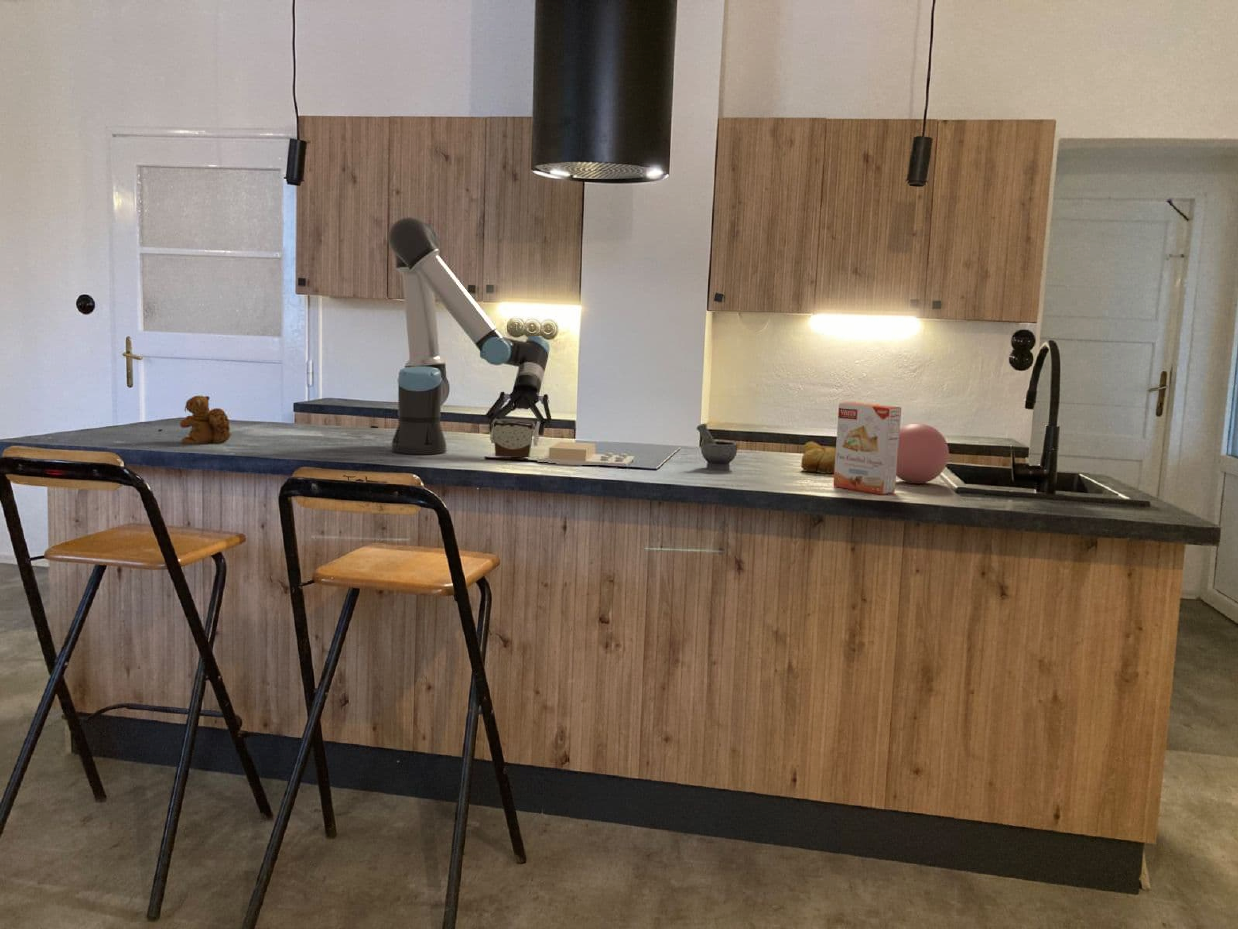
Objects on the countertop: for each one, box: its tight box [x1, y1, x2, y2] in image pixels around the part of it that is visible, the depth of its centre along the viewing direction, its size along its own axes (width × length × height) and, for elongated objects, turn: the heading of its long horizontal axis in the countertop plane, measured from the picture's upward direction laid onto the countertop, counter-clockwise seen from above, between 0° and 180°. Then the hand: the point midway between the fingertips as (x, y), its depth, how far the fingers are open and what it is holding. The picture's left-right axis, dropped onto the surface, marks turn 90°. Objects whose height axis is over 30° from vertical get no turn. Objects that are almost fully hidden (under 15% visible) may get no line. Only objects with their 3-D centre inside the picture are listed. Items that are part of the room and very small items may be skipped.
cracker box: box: [832, 401, 902, 496], centre depth 245 cm, size 14×6×21 cm, turn 45°
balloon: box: [896, 423, 950, 485], centre depth 263 cm, size 15×20×15 cm
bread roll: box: [800, 440, 836, 474], centre depth 275 cm, size 13×10×8 cm
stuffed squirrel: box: [179, 395, 232, 445], centre depth 286 cm, size 10×14×13 cm
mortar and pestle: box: [696, 422, 739, 471], centre depth 274 cm, size 11×9×12 cm
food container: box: [491, 418, 536, 458], centre depth 280 cm, size 12×6×10 cm, turn 83°
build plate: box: [536, 441, 635, 466], centre depth 277 cm, size 24×16×4 cm, turn 82°
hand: (513, 441), depth 277 cm, fingers closed on food container, 11 cm apart
